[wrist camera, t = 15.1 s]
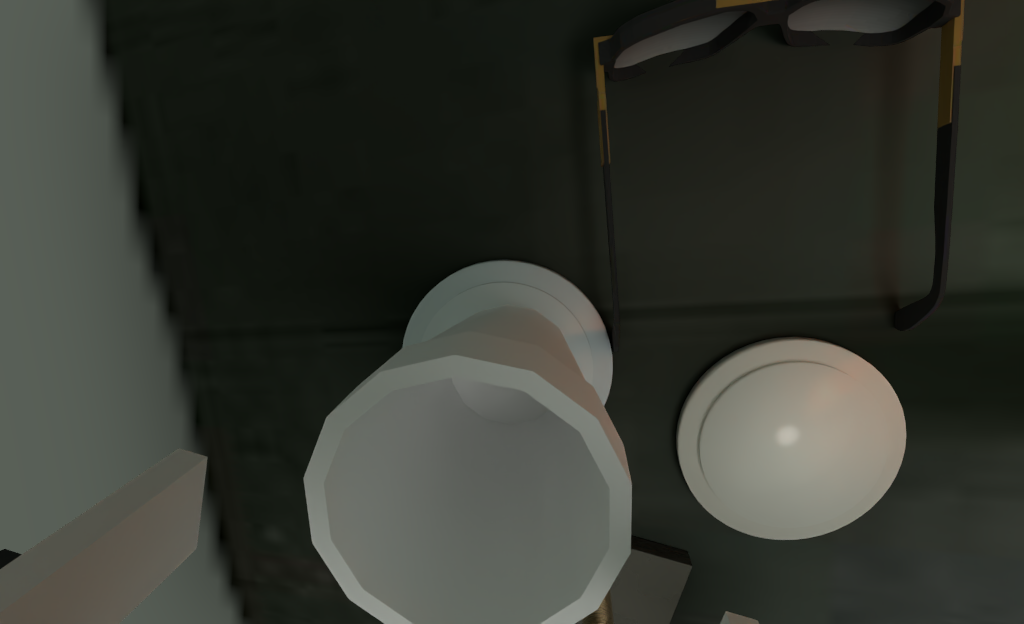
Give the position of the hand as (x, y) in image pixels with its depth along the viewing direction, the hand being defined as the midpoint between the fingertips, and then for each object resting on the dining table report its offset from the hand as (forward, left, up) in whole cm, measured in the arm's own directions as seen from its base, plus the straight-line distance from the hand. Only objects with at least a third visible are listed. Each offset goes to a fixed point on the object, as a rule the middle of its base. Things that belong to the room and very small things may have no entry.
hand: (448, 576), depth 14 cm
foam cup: (0, 0, -15) cm, 15 cm away
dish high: (0, +15, -16) cm, 22 cm away
